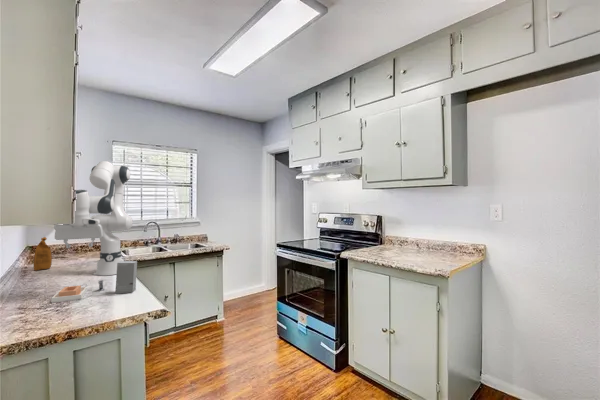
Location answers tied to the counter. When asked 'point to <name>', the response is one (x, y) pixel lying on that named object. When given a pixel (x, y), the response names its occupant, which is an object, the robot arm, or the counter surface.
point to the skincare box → (126, 277)
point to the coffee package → (42, 256)
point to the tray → (68, 298)
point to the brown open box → (70, 291)
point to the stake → (100, 286)
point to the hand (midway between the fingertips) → (79, 247)
